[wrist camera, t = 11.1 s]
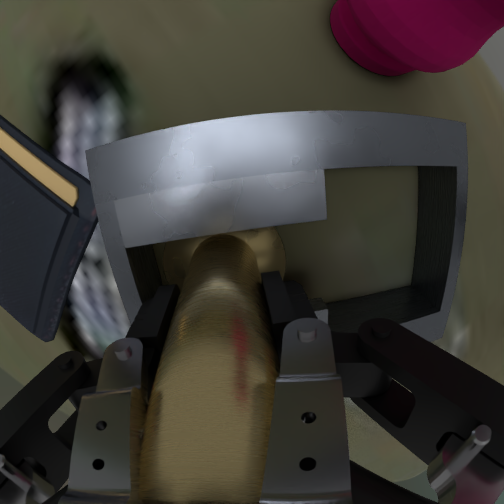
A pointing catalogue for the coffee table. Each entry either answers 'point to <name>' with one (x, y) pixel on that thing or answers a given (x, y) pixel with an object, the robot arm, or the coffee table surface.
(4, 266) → the wallet
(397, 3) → the pepper mill
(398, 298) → the keyhole plate
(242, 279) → the bolt
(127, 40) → the coffee table surface
